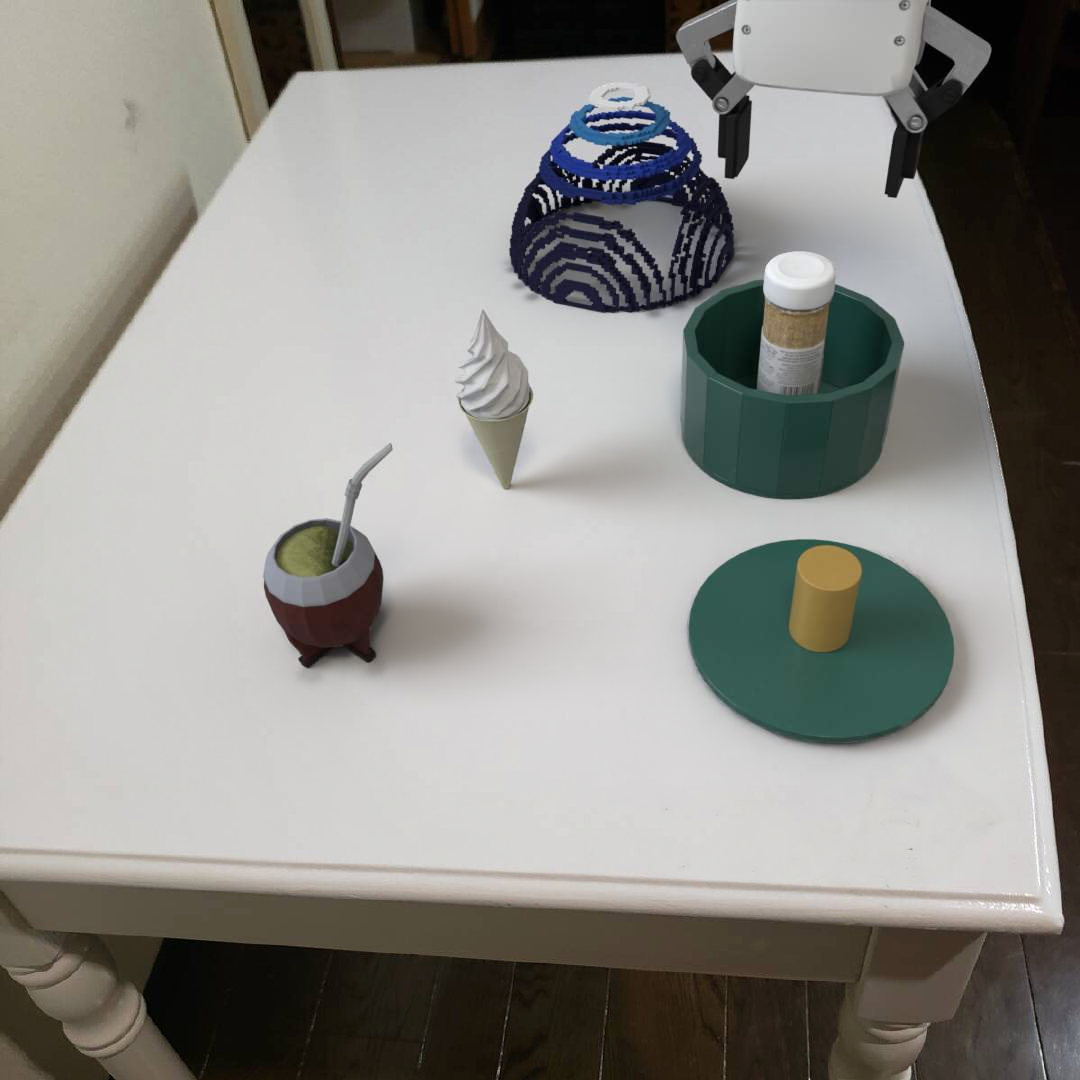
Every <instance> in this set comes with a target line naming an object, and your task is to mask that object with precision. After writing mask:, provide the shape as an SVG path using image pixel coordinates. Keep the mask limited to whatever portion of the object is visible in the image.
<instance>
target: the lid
mask: <svg viewBox="0 0 1080 1080" xmlns="http://www.w3.org/2000/svg"><path fill="white" fill-rule="evenodd" d="M688 642H689V647H690V648H689V649H690V652H691V656H692V658H693V661H694V663H695V667H696V668H697V670H698V672H699V674H700V676H701V677H702V679H703V680H704V682H705V683H706V685H707V686H708V687H709V688H710V690H711V691H712V692H713V693H714V694H715V696H717V697H718V698H719V699H720V700H721V701H722V702H723V703H724V704H725V705H727V706H728V707H729V708H730V709H732V711H734V712H736V713H737V715H740V716H741V717H743V718H745V719H746V720H748V721H749V722H751V723H753V724H755V725H757V726H759V727H762V728H764V729H766V730H768V731H771V732H774V733H777V734H779V735H782V736H785V737H788V738H793V739H796V740H802V741H807V742H813V743H815V742H816V743H822V744H847V743H849V744H850V743H859V742H865V741H869V740H875V739H879V738H881V737H882V738H883V737H884V736H888V735H891V734H893V733H896V732H897V731H900V730H902V729H904V728H906V727H908V726H910V725H911V724H913V723H914V722H915V721H918V720H919V719H920V718H922V717H923V716H924V715H925V714H926V713H927V712H928V711H929V710H930V709H931V708H933V706H934V705H935V704H936V703H937V701H938V699H939V698H940V697H941V696H942V694H943V692H944V690H945V688H946V687H947V685H948V683H949V679H950V676H951V673H952V670H953V666H954V660H955V641H954V636H953V632H952V628H951V624H950V622H949V619H948V616H947V615H946V613H945V611H944V609H943V607H942V606H941V604H940V602H939V601H938V599H937V598H936V597H935V596H934V594H933V593H932V592H931V590H930V589H929V588H928V587H927V586H926V585H925V584H924V583H922V582H921V580H920V579H918V578H917V577H916V576H915V575H914V574H912V573H911V572H909V571H908V570H907V569H905V568H904V567H902V566H901V565H899V564H897V563H896V562H894V561H892V560H891V559H888V558H887V557H885V556H883V555H881V554H878V553H876V552H874V551H871V550H868V549H866V548H863V547H860V546H855V545H853V544H849V543H845V542H839V541H833V540H825V539H816V538H815V539H814V538H810V539H809V538H807V539H806V538H805V539H804V538H803V539H802V538H799V539H786V540H780V541H779V540H778V541H774V542H769V543H765V544H761V545H759V546H754V547H752V548H749V549H747V550H745V551H742V552H740V553H738V554H737V555H735V556H733V557H731V558H730V559H727V560H726V561H725V562H723V563H722V564H721V565H720V566H718V567H717V568H715V570H714V571H713V572H712V573H711V574H709V576H708V577H706V579H705V581H704V582H703V583H702V585H701V586H700V588H699V589H698V591H697V593H696V595H695V597H694V599H693V602H692V605H691V608H690V612H689V620H688Z"/></svg>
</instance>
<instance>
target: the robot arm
mask: <svg viewBox="0 0 1080 1080" xmlns="http://www.w3.org/2000/svg"><path fill="white" fill-rule="evenodd" d="M931 2H932V0H728V1H726V2H724V3H722V4H719V5H718V6H715V7H714V8H711V9H708V11H705V12H703V13H701V14H699V15H697V16H695V17H693V18H690V19H689V20H687V21H685V22H683V24H682V25H681V26H680V28H679V29H678V30H677V31H676V35H675V38H676V39H675V40H676V42H677V44H678V46H679V48H680V50H681V53H682V55H683V57H684V59H685V62H686V64H688V65H689V67H690V75H691V78H692V80H693V81H694V82H695V83H696V84H697V86H698V87H699V88H700V89H701V91H703V92H704V94H705V95H706V96H707V97H708V98H709V99H710V100H711V107H712V109H713V110H714V112H715V113H717V114H718V135H717V136H718V137H717V157H718V159H724V179H727V180H734V179H735V178H738V177H739V175H740V174H741V172H742V170H743V168H744V166H745V165H746V163H747V162H748V159H749V156H750V145H751V143H750V141H751V125H752V124H751V123H752V109H753V107H752V106H753V101H752V100H750V98H751V97H750V95H748V93H749V92H750V91H751V90H752V89H753V88H754V87H755V86H757V87H762V88H771V89H780V90H781V89H782V90H789V91H800V92H811V93H825V94H836V95H848V96H858V97H859V96H860V97H876V98H877V97H880V98H881V97H884V98H885V100H886V101H887V102H888V104H889V106H890V107H891V109H892V110H893V111H894V113H895V115H896V116H897V117H898V122H897V124H896V127H895V129H894V131H893V134H892V140H891V148H890V152H889V154H890V155H889V159H888V160H889V161H888V167H887V174H886V181H885V187H884V195H886V196H887V198H892V199H893V198H894V199H897V198H898V195H899V192H900V191H901V187H902V185H903V182H904V179H907V180H908V179H909V180H914V179H915V177H916V174H917V170H918V165H919V162H920V161H919V160H920V155H921V149H922V142H923V136H924V130H925V129H926V127H927V126H928V124H931V122H933V121H934V120H935V119H937V118H938V117H940V116H941V115H942V114H944V113H945V112H946V111H948V110H949V109H951V108H952V107H953V106H955V105H956V104H957V103H958V102H959V101H960V100H961V98H962V96H963V95H964V93H965V92H966V91H967V90H968V89H969V88H970V86H971V85H972V83H973V82H974V81H975V80H976V79H977V77H978V76H979V74H980V73H981V72H982V71H983V69H984V68H985V67H986V66H987V65H988V62H989V60H990V57H991V53H992V47H991V44H990V43H989V42H988V41H986V40H985V39H983V38H982V37H980V36H979V35H977V34H975V33H974V32H972V31H971V30H969V29H967V28H965V27H964V26H963V25H961V24H960V23H958V22H957V21H956V20H953V19H952V18H950V17H949V16H948V15H945V14H944V13H942V12H941V11H939V10H937V9H936V8H934V7H933V6H931ZM732 29H733V36H732V37H733V39H732V65H733V70H734V71H733V72H732V73H731V72H730V71H729V69H728V68H727V67H726V66H725V65H724V63H722V61H721V60H720V59H719V58H718V57H717V55H715V54H714V53H713V51H712V47H711V45H710V39H713V38H715V37H717V36H719V35H722V34H723V33H726V32H728V31H730V30H732ZM926 44H928V45H929V46H931V47H933V48H934V49H935V50H936V51H937V50H938V51H939V52H941V53H942V54H943V55H945V56H946V57H948V58H950V59H951V60H952V61H953V62H954V65H953V67H952V68H951V70H950V71H949V73H947V74H946V75H945V76H944V77H942V78H941V79H940V80H938V81H937V82H936V83H935V84H933V85H932V86H930V87H929V88H928V87H927V86H926V84H925V82H924V80H923V79H922V78H921V77H920V74H919V73H918V71H917V70H916V69H915V67H916V66H918V65H920V63H921V60H922V58H923V55H924V49H925V46H926Z"/></svg>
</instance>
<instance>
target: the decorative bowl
mask: <svg viewBox="0 0 1080 1080" xmlns="http://www.w3.org/2000/svg"><path fill="white" fill-rule="evenodd" d="M617 91H619V92H620V91H621V92H628V93H633V97H630V96H621V97H617V98H614V97H610V98H605V96H606V95H608V93H612V92H617ZM650 99H651V91H650V88H649V87H648V86H645V85H640V83H634V82H627V81H626V82H625V81H621V82H613V81H611V82H607V83H602V85H600V86H599V87H598V86H597V87H595V88H594V89H593V90H592V91H591V93H589V94H588V99H587V103H588V104H584V106H582V107H581V108H580V109H579V110H575V111H574V112H573V113H572V114H571V115H570V120H569V123H568V124H567V125H565V127H564V128H563V129H562V130H561V131H560V132H559V133H558V134H557V135H556V136H555V137H554V138H553V139H552V140H551V142H550V144H551V145H550V146H549V149H548V150H547V151H546V152H545V153H544V154H542V156H541V157H540V161H539V166H538V171H537V173H536V174H535V177H534V178H533V179H532V180H531V181H530V182H529V183H528V185H527V186H526V187H524V192H523V196H522V197H521V198H520V201H519V202H518V203H517V207H516V211H515V212H514V216H513V220H512V224H511V235H510V239H509V245H510V247H509V248H508V249H509V250H508V251H509V257H510V265H511V266H512V268H513V273H514V274H517V279H518V280H521V281H522V282H523V284H524V286H525V287H528V289H529V290H530V292H531V291H532V292H534V294H538V295H541V297H544V298H545V300H550V301H552V303H554V304H560V305H564V306H569V307H574V308H579V309H583V310H584V309H585V310H588V311H593V312H599V313H603V314H605V312H608V313H613V314H615V313H616V312H617V313H618V312H620V311H621V312H627V313H632V312H636V313H638V312H639V311H641V310H646V311H650V310H654V309H658V308H664V309H665V307H666V306H672V307H673V306H674V304H678V303H679V302H680V303H682V302H683V301H684V302H686V301H687V300H688V298H689V297H692V298H695V297H696V296H697V295H701V294H702V292H703V291H704V289H708V288H712V286H713V285H714V284H717V283H718V282H719V280H720V279H721V277H722V276H723V274H724V273H725V271H726V269H728V266H729V265H730V263H731V262H732V260H733V258H734V257H735V249H736V248H735V239H734V238H735V234H734V230H735V226H734V222H732V221H733V214H731V212H730V207H729V206H728V204H729V202H728V200H727V199H726V197H725V194H724V192H723V191H722V190H723V187H722V186H720V182H719V181H718V182H717V180H716V179H715V177H711V176H709V175H707V174H706V173H705V172H704V170H702V168H701V167H700V166H701V164H702V162H703V154H702V153H701V150H698V145H697V142H695V138H694V137H691V136H690V133H689V132H686V128H685V129H684V127H681V125H678V123H677V122H676V121H672V119H671V111H669V110H668V109H666V107H665V106H664V105H661V104H659V103H658V104H657V103H654V102H653V101H649V100H650ZM636 107H643V108H649V109H648V110H651V112H647V111H642V110H641V109H638V110H634V109H635V108H636ZM595 109H599V110H604V111H601V112H597V113H593V114H591V113H592V112H593V111H594V110H595ZM605 110H606V111H608V112H605ZM587 113H589V115H588V116H587ZM614 119H617V120H620V119H627V120H633V119H638V120H646V121H652V122H651V123H650V124H648V123H647V124H646V123H639V122H636V123H635V124H631V123H629V122H622V121H621V122H620V123H619V122H614V123H607V124H606V123H605V124H599V125H593V124H591V125H589V126H588V124H589V123H594V124H595V123H597V122H600V121H601V120H603V121H610V120H614ZM616 131H619V132H617V133H616ZM625 131H629V133H627V132H625ZM660 136H665V138H668V139H673V141H675V142H676V143H675V147H677V148H676V149H675V148H674V146H670V145H666V143H661V142H655V141H650V140H651V139H655V138H656V137H660ZM575 139H576V140H578V139H581V140H584V141H586V142H587V143H592V144H593V145H596V146H601V147H602V146H603V147H607V146H611V148H609V147H608V148H606V149H605V150H604V152H602V153H601V154H599V155H598V156H597V159H594V160H593V161H592V162H589V161H585V159H582V158H578V157H577V156H573V155H572V154H571V152H570V151H569V150H567V147H566V146H565V145H567V144H568V143H569V142H573V141H574V140H575ZM623 151H624V152H623ZM616 152H621V153H618V154H617V155H616ZM690 153H691V154H692V160H691V158H690V157H689V156H688V155H689V154H690ZM643 154H644V155H643ZM645 154H646V155H645ZM647 155H649V156H647ZM629 157H631V158H629ZM608 159H611V160H610V161H608ZM606 161H608V163H607V164H606ZM634 162H635V164H634ZM601 166H602V168H601ZM671 173H673V174H671ZM574 177H575V178H574ZM581 178H582V179H581ZM693 178H694V179H693ZM594 180H597V181H595V185H594ZM617 180H619V181H618V186H615V188H613V187H614V185H615V184H616V181H617ZM628 180H630V182H629V190H628V191H625V190H624V191H623V187H624V186H625V185H626V184H628ZM609 181H611V182H609ZM607 182H609V183H608V189H607V190H605V187H604V185H607ZM579 183H581V186H579ZM543 186H545V187H547V188H549V191H551V195H552V198H553V201H554V208H552V204H550V198H549V193H548V191H547V190H546V189H545V188H544V187H543ZM685 186H686V187H685ZM687 189H689V192H687ZM557 192H558V195H557ZM689 194H690V195H691V196H690V197H691V199H690V200H689ZM535 195H536V196H539V197H540V198H541V199H542V202H541V201H540V198H539V197H536V196H535ZM559 195H560V199H559ZM669 196H670V197H669ZM581 198H583V199H581ZM559 200H560V201H559ZM646 201H647V202H653V201H656V202H662V203H668V204H671V206H675V207H676V206H677V207H682V209H681V210H680V216H682V217H681V218H682V219H681V221H680V224H679V226H678V230H677V235H676V239H675V241H674V245H673V249H672V253H671V257H672V258H674V259H671V260H670V267H669V269H668V272H667V278H668V279H669V280H670V288H669V292H670V300H669V299H668V298H667V297H668V291H667V290H666V289H664V280H665V276H663V275H662V270H661V269H659V264H658V263H655V262H656V257H653V254H651V253H650V251H649V250H647V247H644V244H643V243H641V240H638V237H637V236H636V231H635V232H634V231H633V228H628V229H624V224H622V223H621V221H620V220H613V221H612V220H605V217H604V216H599V215H594V214H593V215H592V214H588V213H583V212H577V211H576V212H575V211H574V212H573V213H571V214H570V213H568V211H563V210H567V209H571V208H572V207H578V206H580V207H581V206H582V205H583V204H585V205H588V204H593V202H599V203H600V202H601V204H603V205H610V206H615V205H624V204H625V205H631V206H636V204H637V203H642V202H646ZM543 203H544V204H545V211H546V212H543V211H544V210H543ZM692 212H693V213H692ZM553 215H554V216H553ZM702 217H703V218H702ZM527 219H528V220H529V221H530V222H527V224H526V220H527ZM567 219H568V220H571V221H572V222H576V223H581V224H587V225H592V226H598V229H599V230H603V231H610V232H611V231H612V230H615V231H616V236H619V239H624V240H625V243H631V247H634V253H637V254H640V257H641V258H643V263H645V264H646V267H649V270H652V279H654V280H655V285H658V294H661V295H662V299H659V300H655V301H651V292H652V289H653V287H652V282H650V280H649V279H650V277H649V276H648V275H647V273H646V272H644V271H643V270H644V269H643V268H644V267H643V266H641V264H640V262H638V260H637V259H635V257H634V253H631V252H627V253H625V252H626V251H625V250H626V249H625V248H626V247H625V246H624V245H619V242H617V240H618V238H617V237H616V236H615V235H614V233H610V232H603V233H599V232H595V231H589V230H584V229H577V228H572V227H570V226H569V225H564V224H560V221H564V222H565V221H566V220H567ZM697 220H698V222H696V221H697ZM704 221H705V222H704ZM690 222H691V223H690ZM559 224H560V225H559ZM686 224H689V225H688V227H687V231H686V233H683V230H684V229H685V225H686ZM557 225H559V226H557ZM702 225H703V226H702ZM549 226H550V227H554V228H548V230H547V232H548V233H547V234H546V235H544V237H543V236H540V237H539V238H537V237H538V236H539V235H541V233H543V231H545V230H546V227H549ZM701 226H702V228H701V230H700V232H699V236H698V240H697V241H696V246H695V249H694V251H693V254H692V253H690V251H691V246H692V245H693V240H694V237H695V235H696V232H697V230H698V227H701ZM713 227H715V228H716V229H717V231H716V233H715V235H714V239H713V241H712V245H711V246H710V249H709V252H708V256H707V253H704V250H706V249H705V247H706V245H707V241H708V239H709V235H710V234H711V230H712V228H713ZM565 236H568V238H571V239H576V240H583V241H587V242H593V243H600V242H604V243H603V247H605V248H606V250H607V251H611V252H612V254H613V255H617V256H618V257H619V258H618V259H621V262H624V265H626V266H630V269H631V271H630V273H631V275H634V276H636V278H637V279H636V280H637V282H639V285H640V286H639V287H640V288H639V290H640V291H642V295H643V297H642V298H643V300H645V304H643V303H641V304H640V302H639V301H637V293H636V292H634V287H633V286H631V281H630V280H628V277H625V274H623V273H622V270H619V267H617V266H616V264H617V260H616V259H614V256H612V255H611V252H606V251H605V248H599V247H593V246H588V247H583V246H579V245H578V243H572V242H567V241H561V240H564V239H565ZM722 236H724V237H725V238H724V244H723V246H721V249H720V250H719V254H718V256H717V259H716V266H715V268H714V269H715V271H714V274H713V276H711V278H710V272H711V270H712V269H711V268H712V264H713V257H714V256H715V252H716V248H717V246H718V242H719V241H720V239H721V238H722ZM536 238H537V239H536ZM535 239H536V240H535ZM557 239H560V241H559V243H557V244H556V245H554V247H553V249H550V250H549V251H547V252H546V253H545V254H544V256H542V257H541V258H540V259H538V261H536V262H535V263H534V266H533V270H532V271H530V275H529V269H530V268H531V264H532V263H533V262H534V261H535V260H536V257H538V252H539V251H541V250H545V249H546V245H548V246H550V245H551V243H553V242H554V241H556V240H557ZM685 239H687V242H684V241H685ZM534 240H535V241H534ZM533 241H534V242H533ZM531 245H532V247H531V248H529V247H530V246H531ZM528 248H529V249H528ZM527 250H528V253H526V252H527ZM682 253H684V255H681V254H682ZM706 257H707V260H704V259H706ZM562 259H564V260H571V261H576V260H577V259H579V260H584V261H585V264H581V263H575V262H570V261H565V262H564V263H563V264H562V265H556V267H554V268H553V270H551V271H549V272H548V274H546V275H545V278H544V272H545V271H546V270H547V269H548V268H549V267H551V265H554V263H556V264H558V263H559V261H562ZM689 259H690V260H691V259H692V262H691V269H690V275H687V273H686V271H687V268H688V262H689ZM724 261H725V262H724ZM586 264H592V265H595V266H600V269H602V270H603V272H604V273H609V277H612V279H613V280H615V282H616V283H617V284H618V291H619V292H621V295H623V296H624V304H627V305H626V306H623V305H620V293H617V287H615V286H614V284H613V283H611V281H610V280H608V277H606V276H605V274H604V273H599V270H597V269H593V266H591V265H586ZM675 264H678V267H677V272H674V267H675ZM567 270H569V271H574V272H580V273H583V274H589V275H590V277H592V278H596V281H598V282H599V284H600V285H604V286H605V291H607V292H608V297H609V298H610V297H611V305H609V304H606V302H603V296H600V291H599V290H597V287H595V286H591V283H589V282H583V281H579V280H574V279H567V278H563V279H562V280H561V281H560V282H559V283H557V284H556V285H555V286H554V292H553V293H551V292H552V285H551V283H553V281H556V278H557V277H556V276H558V277H560V276H561V275H562V274H563V275H564V273H565V272H566V271H567ZM703 273H704V276H703ZM677 276H680V277H679V284H681V285H682V294H681V293H680V294H679V295H676V278H677ZM543 278H544V279H543ZM703 278H704V279H703ZM542 279H543V281H541V280H542ZM702 279H703V284H699V280H702ZM688 289H691V290H690V291H689V292H688ZM574 291H575V292H580V293H583V294H582V295H583V296H585V297H586V299H587V300H589V301H588V302H589V303H591V304H585V303H581V302H575V301H570V300H568V299H567V297H568V296H570V295H571V294H572V293H573V292H574Z"/></svg>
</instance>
